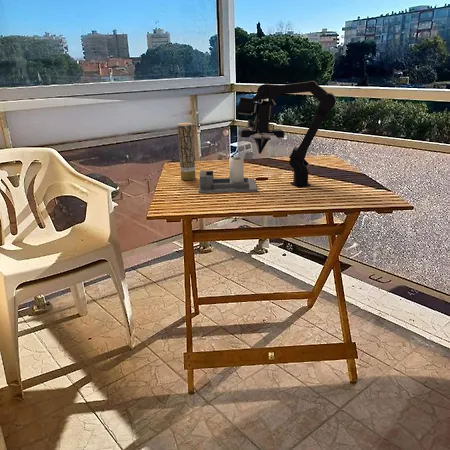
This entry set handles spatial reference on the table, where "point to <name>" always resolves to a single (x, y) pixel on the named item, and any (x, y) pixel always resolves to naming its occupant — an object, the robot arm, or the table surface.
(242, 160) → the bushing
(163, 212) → the table surface
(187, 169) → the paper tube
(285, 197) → the table surface
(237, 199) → the table surface
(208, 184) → the jig
